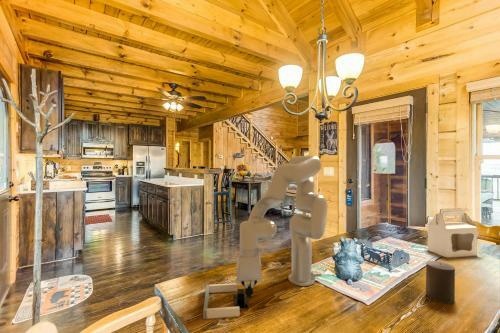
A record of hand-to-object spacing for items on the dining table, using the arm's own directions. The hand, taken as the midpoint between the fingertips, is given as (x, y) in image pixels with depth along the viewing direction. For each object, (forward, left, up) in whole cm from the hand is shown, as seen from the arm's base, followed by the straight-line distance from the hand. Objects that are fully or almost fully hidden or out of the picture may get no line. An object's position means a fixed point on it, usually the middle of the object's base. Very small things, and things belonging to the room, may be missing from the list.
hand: (248, 296), depth 102 cm
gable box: (-133, -39, -2) cm, 139 cm away
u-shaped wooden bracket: (+11, 0, -2) cm, 11 cm away
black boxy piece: (+3, -1, -3) cm, 4 cm away
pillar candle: (-80, +7, -2) cm, 81 cm away
